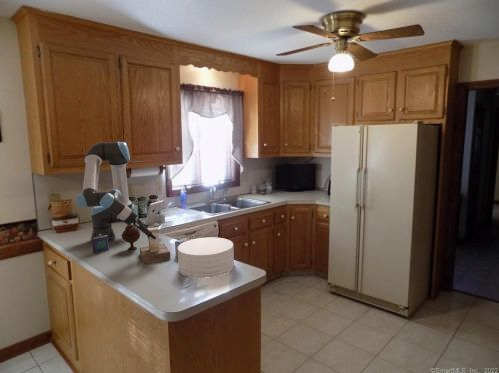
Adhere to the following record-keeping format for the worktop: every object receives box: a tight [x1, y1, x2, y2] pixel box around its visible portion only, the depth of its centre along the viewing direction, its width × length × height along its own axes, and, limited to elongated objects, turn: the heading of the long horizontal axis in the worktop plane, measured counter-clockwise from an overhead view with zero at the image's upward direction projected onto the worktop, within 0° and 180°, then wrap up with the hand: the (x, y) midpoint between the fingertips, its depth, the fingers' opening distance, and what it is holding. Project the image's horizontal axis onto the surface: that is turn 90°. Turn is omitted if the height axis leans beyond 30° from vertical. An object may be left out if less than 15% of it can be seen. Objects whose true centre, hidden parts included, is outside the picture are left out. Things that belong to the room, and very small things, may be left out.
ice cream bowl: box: [121, 223, 141, 252], centre depth 205 cm, size 11×11×15 cm
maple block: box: [147, 226, 160, 252], centre depth 191 cm, size 5×5×12 cm
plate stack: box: [177, 236, 235, 279], centre depth 175 cm, size 28×28×12 cm
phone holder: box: [144, 200, 166, 228], centre depth 261 cm, size 17×10×18 cm, turn 154°
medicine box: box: [174, 237, 191, 258], centre depth 193 cm, size 8×4×9 cm, turn 141°
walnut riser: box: [139, 243, 171, 264], centre depth 192 cm, size 16×14×4 cm
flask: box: [91, 234, 110, 254], centre depth 203 cm, size 9×3×11 cm, turn 138°
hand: (157, 238), depth 192 cm, fingers open, 13 cm apart
